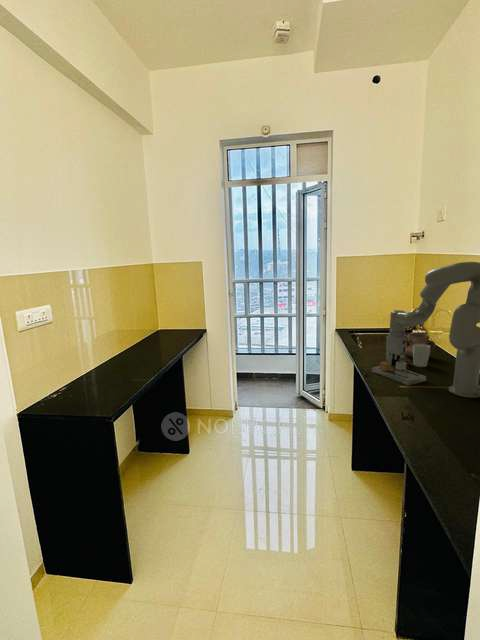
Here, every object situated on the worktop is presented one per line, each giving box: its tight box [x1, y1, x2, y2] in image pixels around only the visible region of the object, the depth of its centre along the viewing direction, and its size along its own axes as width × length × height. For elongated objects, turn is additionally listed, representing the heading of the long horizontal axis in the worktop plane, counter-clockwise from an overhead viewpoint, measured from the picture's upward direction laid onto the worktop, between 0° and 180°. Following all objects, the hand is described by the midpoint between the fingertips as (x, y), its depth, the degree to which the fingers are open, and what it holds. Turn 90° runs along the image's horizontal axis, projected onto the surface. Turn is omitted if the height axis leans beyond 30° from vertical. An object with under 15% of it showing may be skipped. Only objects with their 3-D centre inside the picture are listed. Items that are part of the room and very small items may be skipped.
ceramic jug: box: [405, 332, 436, 358], centre depth 211 cm, size 18×14×14 cm
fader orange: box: [379, 360, 392, 371], centre depth 180 cm, size 3×4×4 cm
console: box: [371, 365, 427, 386], centre depth 178 cm, size 23×13×3 cm, turn 26°
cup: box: [412, 344, 431, 368], centre depth 194 cm, size 9×9×12 cm
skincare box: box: [385, 335, 403, 364], centre depth 201 cm, size 8×7×16 cm
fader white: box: [396, 360, 407, 370], centre depth 181 cm, size 3×4×4 cm
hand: (394, 365), depth 184 cm, fingers closed
